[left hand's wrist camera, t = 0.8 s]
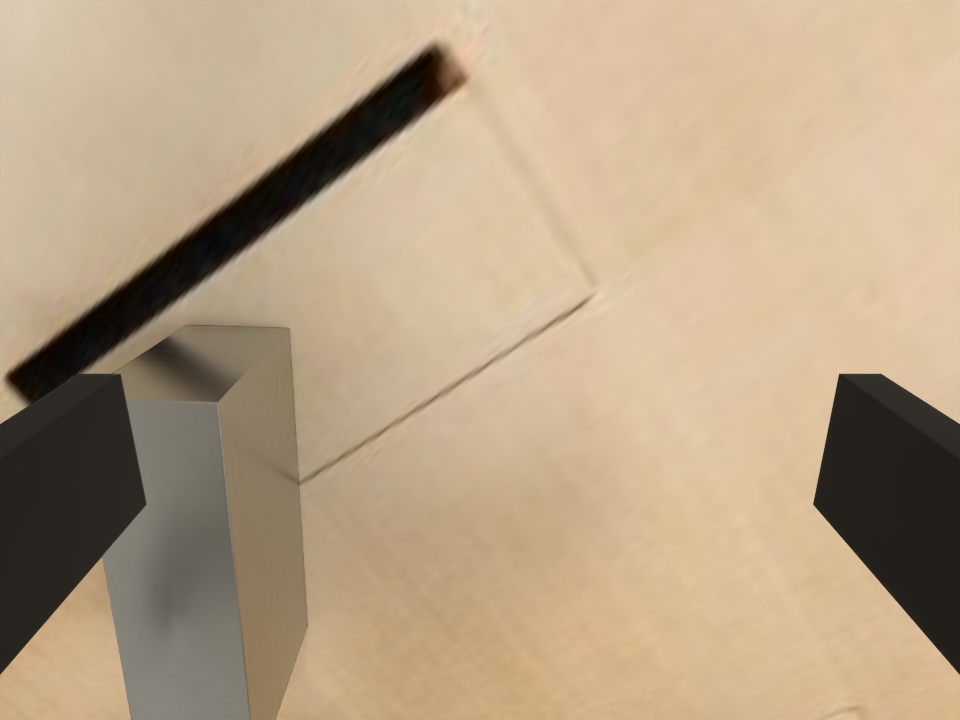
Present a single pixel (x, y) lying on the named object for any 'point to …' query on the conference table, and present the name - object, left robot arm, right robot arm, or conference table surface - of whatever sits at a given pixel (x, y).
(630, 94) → the conference table surface
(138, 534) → the box
